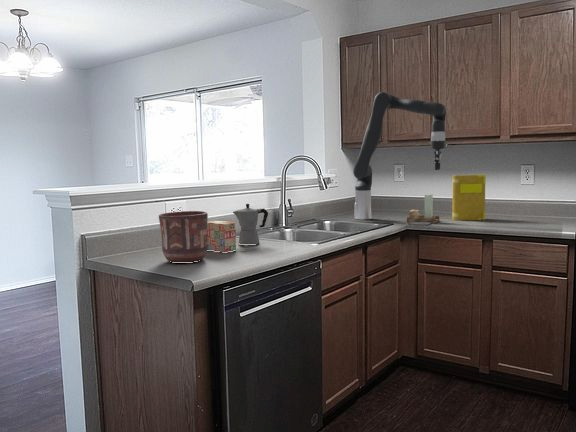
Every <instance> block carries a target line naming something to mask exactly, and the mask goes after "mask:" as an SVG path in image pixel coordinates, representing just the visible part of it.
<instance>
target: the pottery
mask: <svg viewBox="0 0 576 432" xmlns="http://www.w3.org/2000/svg"><path fill="white" fill-rule="evenodd" d="M208 217H209V215H208V212H207V211H203V210H202V211H200V210H198V211H197V210H188V211H186V210H185V211H184V210H182V211H173V212H165V213H164V212H163V213H160V214H158V220H159V227H160V236H161V237H160V238H161V250H162V254H163V256H164V258H165V259H166V260H167V261H168V262H169V261H171V262H194V261H199V260H202V261H203V260H204V258H205V257H206V255H207V254H208V251H207V250H208V239H207V222H208V219H209V218H208Z"/></svg>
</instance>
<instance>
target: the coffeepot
mask: <svg viewBox="0 0 576 432" xmlns="http://www.w3.org/2000/svg"><path fill="white" fill-rule="evenodd" d="M245 207H246V208H242V209H239V210H238V209H237V210H234V211H233V212H232V213H233V214H234V215H235V217H236V219H238V223H239V226H240V231H239V238H238V239H239V240H238V244H239V243H240V244H258V243H260V238H259V233H258V230H257V226H258V219H259V218H258V217H259V214H262V213H263V218H262V220H261V221H262V224H260V225H259V228H264V227H265V226H266V222H267V219H268V215H269V212H268V211H267V209H266V208H256V209H254V208H251V207H250V203H245Z"/></svg>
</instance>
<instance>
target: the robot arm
mask: <svg viewBox="0 0 576 432" xmlns="http://www.w3.org/2000/svg"><path fill="white" fill-rule="evenodd" d="M371 108H372V109H371V114H370V117H369V120H368V124H367V126H366V129H365V132H364V136H363V140H362V144H361V147H360V150H359V154H358V157H357V159H356V162H355V164H354V167H353V171H352V172H353V176H354V177H355V178H356V179H357V181H356V185H355V186H354V190H355V193H354V194H355V197H354V198H355V202H354V203H353V207H354V209H353V211H354V212H353V213H354V214H353V215H354V220H371V219H372V184H373V169H372V166H371V165H370V161H371V159H372V156H373V154H374V152H375V151H376V150H377V147H378V146H379V143H380V141H381V138H382V137H381V136H382V133H383V132H382V131H383V119H384V116H385V113H386V111H387V110H392V109H393V110H394V109H396V110H403V111H406V112H411V113H415V114H420V115H425V114H426V115H430V116H432V123H431V135H430V149H431V150H434V152H433V160H434V170H435V171H439V170H441V161H442V156H443V155H442V151H441V150H445V149H446V132H445V131H446V116H447V115H446V114H447V108H446V106H445V105H444V104H442V103H440V102H432V101H426V100H421V99H413V98H402V97H397V96H395V95H391V94H389V92H384V91H380V92H377V94H376V95H375V96H374V99H373V104H372V107H371Z"/></svg>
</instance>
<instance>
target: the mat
mask: <svg viewBox="0 0 576 432" xmlns="http://www.w3.org/2000/svg"><path fill="white" fill-rule="evenodd" d="M431 224H432V223H427V222H412V223H408V225H409V226H429V225H431Z"/></svg>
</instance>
